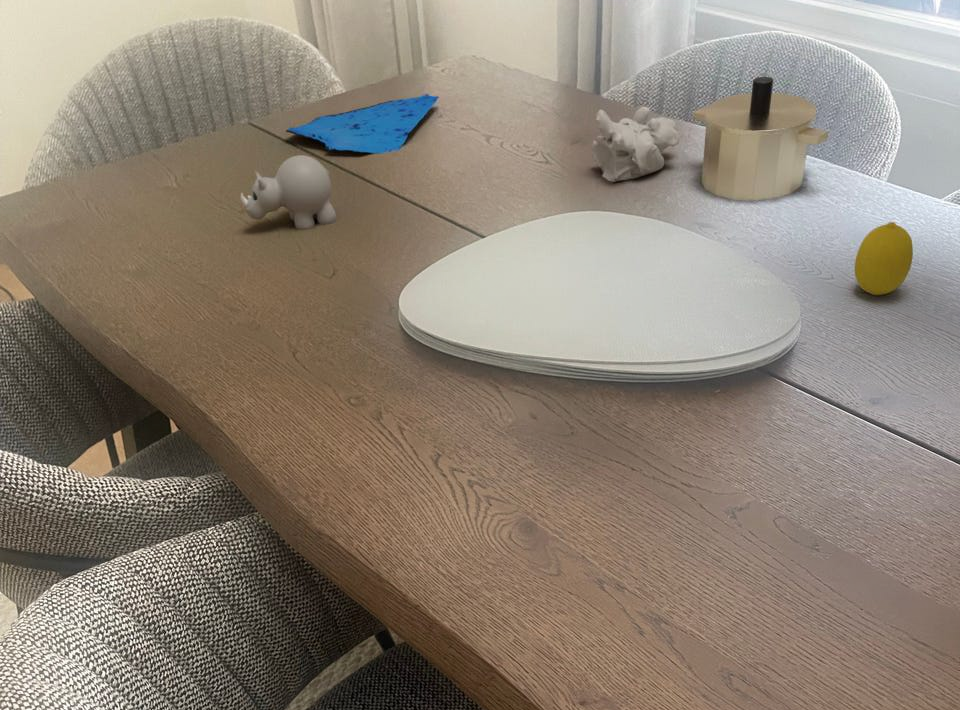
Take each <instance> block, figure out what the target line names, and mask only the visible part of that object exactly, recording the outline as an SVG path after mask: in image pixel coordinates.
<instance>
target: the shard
mask: <svg viewBox="0 0 960 710" xmlns="http://www.w3.org/2000/svg"><path fill="white" fill-rule="evenodd" d="M439 98H440V96H437V95H430V94H429V93H425V94H424V95H422V96H416V97H415V96H414V97H410V98H409V97H408V98H406V99H404V98H403V99H397V100H396V99H395V100H388V101H385V102H381V103H379V102H378V103H377V104H375V105H374V104H373V105H370V106H366V107H362V108H356V109H353V110H350V111H346V112H340V113H335V114H327V115H322V116H319V117H316V118H315V119H313V120H311V121H310V122H307V123H304V124H302V125H299V126H297V127H294V126H293V127H289V128H288V129H285V131H284V132H285V133H290V134H293V135H297V136H301V137H304V138H309V139H313V140H318V141H319V142H322V143H324V144H325V147H324V149H325V150H331V151H332V150H337V151H352V152H360V153H370V154H379V155H383V154H385V153H392V152H393V151H395V152H398V151H399V150H400V149H401V147H402V146H403V145H404V144H405V142H406V141H407V138H408V136H409V133H411V132H412V131H413V129H414V128H415V127H416V126H417V125H418V123H419V122H420V121H421V120H422V119H423V118H424V116H426V115H427V114H428V112H429V111H430V110H431V108H432V107H433V106H434V105H435V104H436V103H437V101H438V99H439Z"/></svg>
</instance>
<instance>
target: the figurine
mask: <svg viewBox="0 0 960 710" xmlns="http://www.w3.org/2000/svg"><path fill="white" fill-rule="evenodd" d="M634 113H635V114H634V115H633V118H632V119H631V118H628V117H625V118H622V119H620V120H619V121H618V122H615V121H612V120H611V118H610V116H609V115H608V114H607V113H606V112H605V111H604V110H603V109H599V110H598V111H597V113H596V115H595V122H596V125H597V129H598V130H599V131H600V134H601V135H596V137H595V139H596V140H595V139H594V140H593V141H592V145H591V154H592V156H591V157H592V160H593V162H595V164H596V166H598V168H601V170H602V171H601V173H602V178H605V180H607V181H608V182H611V183H616V182H620V181H628V180H634V179H638V178H640V177H644V176H647V175H650V174H653V173H656V172H658V171H660V170H662V169H663V167H664V166H665V159H664V156H663V153H664V150H665V149H667V148H668V147H674V146H677V145H678V144H679V143H680V140H681V137H680V134H679V132H678V127H677V123H676V121H675V120H673V119H671V118H668V117H664V116H660V117H652V118H651V119H649V121H647V120H648V118H649V117H650V114H651V110H650V108H649V107H648V106H642V107H639V108H638V109H637V110H636V112H634Z"/></svg>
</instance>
